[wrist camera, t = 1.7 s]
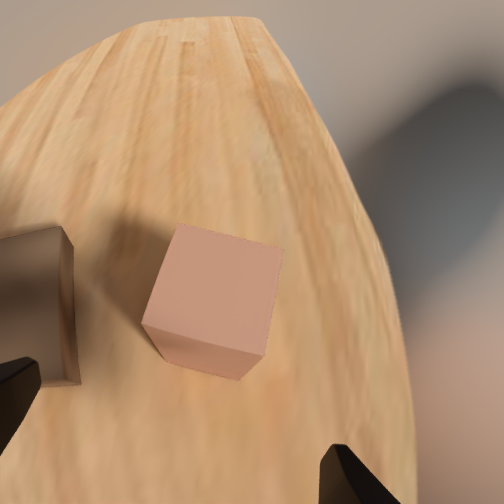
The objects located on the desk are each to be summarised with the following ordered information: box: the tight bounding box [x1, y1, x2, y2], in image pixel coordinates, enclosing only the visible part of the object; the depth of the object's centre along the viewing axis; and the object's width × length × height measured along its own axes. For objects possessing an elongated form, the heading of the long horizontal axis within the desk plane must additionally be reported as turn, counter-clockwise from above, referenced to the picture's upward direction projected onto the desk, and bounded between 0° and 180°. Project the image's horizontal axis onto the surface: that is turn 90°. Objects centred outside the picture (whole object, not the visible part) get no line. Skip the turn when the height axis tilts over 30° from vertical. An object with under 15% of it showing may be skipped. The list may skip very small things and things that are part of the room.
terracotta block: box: [141, 223, 284, 381], centre depth 17 cm, size 5×5×9 cm
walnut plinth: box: [0, 226, 81, 388], centre depth 17 cm, size 11×11×3 cm
